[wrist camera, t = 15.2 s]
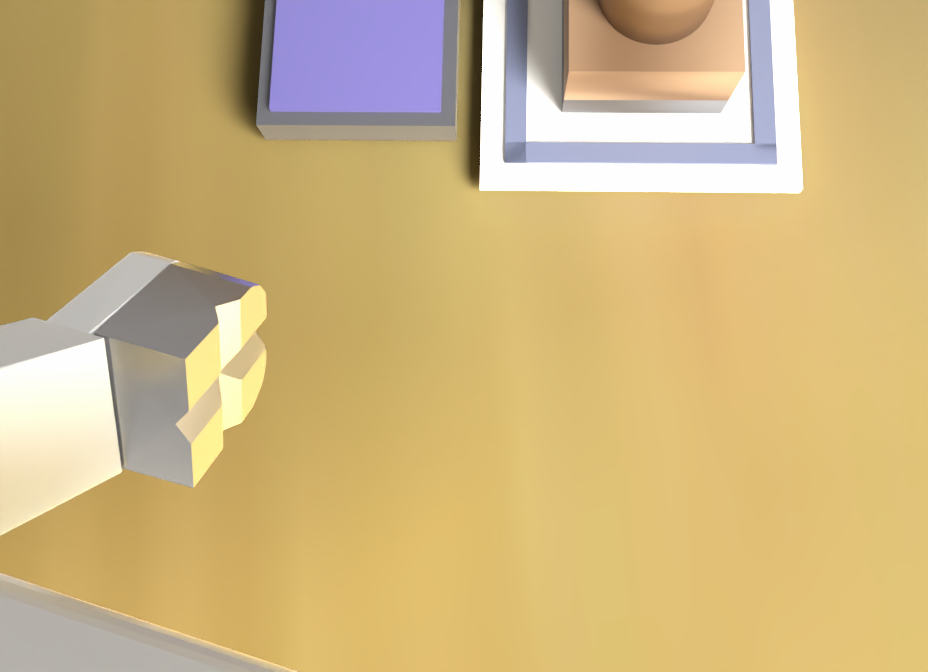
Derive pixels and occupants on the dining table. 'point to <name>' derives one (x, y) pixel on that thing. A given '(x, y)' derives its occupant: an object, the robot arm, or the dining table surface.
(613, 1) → the stamp
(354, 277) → the dining table surface
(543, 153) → the print sheet
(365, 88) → the ink pad
